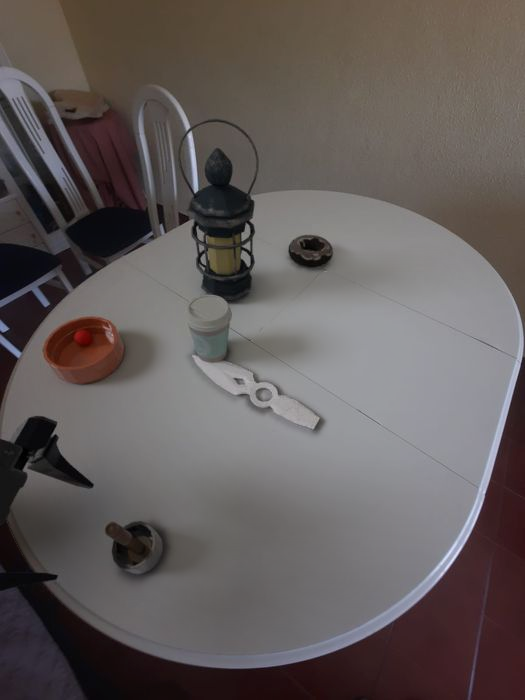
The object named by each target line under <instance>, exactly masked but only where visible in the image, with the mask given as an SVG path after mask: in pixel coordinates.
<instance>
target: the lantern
mask: <svg viewBox="0 0 525 700" xmlns="http://www.w3.org/2000/svg"><path fill="white" fill-rule="evenodd" d="M208 123H223V124H226V125H229V126H231V127H233V128H235V129H236V130H238V131H239V132H240V133H242V134H243V136H245V137H246V138H247V140H248V142H249V143H250V144H251V147H252V149H253V151H254V155H255V172H254V176H253V180H252V181H251V184H250V187H249V189H248V191H247V193H246V192H245V191H243V190H241V189H239V188H238V187H236V186H234V185H232V184H231V181H232V177H233V173H234V169H233V168H234V166H233V163H232V160H231V159H230V158H229V157H228V156H227V155H226V154H225V152H224V151H223V150H222V149H221V148H219V147H215V148H214V149H213V150H212V152H211V153H210V155H209V156H208V158H207V159H206V161H205V165H204V176H205V178H206V180H207V182H208V184H210V185H207V186H204V187H202V188H201V189H199V190H197V191H196V192H195V191H194V190H193V187H192V186H191V184H190V182H189V181H188V178H187V177H186V174H185V171H184V169H183V166H182V161H181V151H182V150H181V149H182V146H183V143H184V140H185V139H186V137H187V136H188V134H189V133H190V132H191V131H192V130H194V129H195V128H198V127H199V126H201V125H204V124H208ZM177 161H178V162H177V163H178V167H179V170H180V173H181V176H182V178H183V179H184V181H185V183H186V185H187V187H188V190H189V191H190V193H191V194H192V197H191V199H190V201H189V204H188V207H187V209H186V215H187V216H189V217H190V218H191V219H193V225H192V226H191V228H190V229H191V230H190V231H191V234H190V235H191V237H192V239H193V240H194V241H195V246H196V247H195V248H196V253H197V254H196V255H197V256H196V258H195V267H196V269H197V270H198V271H199V272H200V274H201V275H202V281H201V282H202V283H201V287H200V288H201V290H203V291H204V292H205V293H206V294H207V295H216V296H219V297H221V298H223V299H224V300H226V301H235V300H238V299H239V298H241V297H243V296H244V295H246V294H248V293H249V292H251V290H252V281H253V277H252V275H251V272H252V271H253V269H254V267H255V264H256V260H255V255H254V250H253V249H254V248H253V247H254V246H253V245H254V243H253V241H254V239H253V238H254V236H255V234H256V229H255V225H254V223H253V222H252V221H251V220H252V219H253V218H254V211H255V207H256V206H255V205H256V204H255V203H256V202H255V200H253V199H252V196H251V195H250V194H251V192H252V190H253V188H254V185H255V183H256V181H257V176H258V173H259V154H258V151H257V148H256V145H255V143H254V141H253V140H252V138H251V137H250V135H248V133H247V132H246V131H245V130H244V129H243V128H241V127H240V126H239V125H238V124H236V123H233V122H231V121H228V120H225V119H220V118H208V119H204V120H200V121H198V122H197V123H195V124H193V125H192V126H190V127H189V128H188V129H187V130H186V131H185V132H184V133H183V135H182V137H181V139H180V141H179V144H178V147H177ZM246 225H248V227H249V235H248V237H246V238H245V239H244V240H243V239H242V233H245V231H246ZM197 228H198V230H200V232H202V233H203V237H202V240H201V239H199V236H198V230H197ZM248 243H249V248H250V249H248V248H246V247H244V246H245V245H247V244H248ZM200 246H202V247H203V250H200ZM243 252H245V253H246V254H247V255H248V256H249V259H250V260H249V263H250V264H249V266H248V265H247V263H246V261H245V260H244V259H243V258H242V253H243ZM203 256H204V259H205V264H204V263H202V260H201V259H202V257H203ZM202 267H203V268H204V269H203V268H202Z"/></svg>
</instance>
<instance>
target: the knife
mask: <svg viewBox="0 0 525 700" xmlns="http://www.w3.org/2000/svg"><path fill="white" fill-rule="evenodd" d="M191 357H192V358H193V360H194V362H195V364H196V366H197V367H199V369H200V370H201V371H202V372H203V373H204V375H206V376H207V377H208V378H209V379H211V381H212V382H214V383H215V384H216V385H218V386H219V387H221V388H222V389H224V390H225V391H227V392H228V393H230V394H232V395H233V396H239V395H249V398H250V401H251V402H252V404H253V405H255V406H256V407H258V408H262V409H263V408H264V409H266V408H271V409H272V410H273V413H275V414H277V415H278V416H280V417H281V416H282V417H283V418H285V420H287V421H290V422H292V423H294V424H296V425H300V426H302V427H306V428H309V429H311V430H314V429H315V427H316V426H317V424H318V423H319V422H320V416H319V415H317V414H315V413H314V412H313V411H312V410H311V409H310V408H308V407H306V405H304V404H303V403H300V401H297V400H296V398H295V399H294V398H291V397H289V396H287V395H285V394H284V395H283V394H279V393H278V390H277V389H278V388H277V387H276V386H275V385H273V384H272V383H270V382H265V381H261V382H257V381H255V378H254V372H252V371H250V370H248V369H246V368H244V367H242V366H239V365H238V364H234V363H233V362H229V361H226V360H224V359H223V360H221V361H219V362H216V363H208V362H205V361H202V360H201V359H200V358H199V357H198V354H197V355H196V354H191ZM236 379H239V380H243V383H244V384H239V383H238V382H237V381H236ZM261 389H267V390H268V391H270V392H271V394H272V395H271V399H269V400H267V401H262V400H260V399H259V398H257V395H256V393H257V391H258V390H261Z"/></svg>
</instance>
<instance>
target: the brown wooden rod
mask: <svg viewBox="0 0 525 700" xmlns="http://www.w3.org/2000/svg"><path fill="white" fill-rule="evenodd" d="M123 527H124V526H122V525H120V524H119V523H118V522H116V521H110V522H109V523H107V525H106V526H105V528H104V533H105V535H106V536H107V537H109V538H111V540H113V541H114V540H115V541H117V542H118V543H120V544H122V545H123V546H125V547H126V548H128V556H129V559H130V560H131V561H133V562H134V563H137V564H138V563H140V562H142V561H143V560H144V559H145V558H146V557H147V556H148V555H149V552H150V550H151V548H152V540H151V539H150V538H148V537H147V536H138V537H134V536H133V535H132V534H131V533H129V532H128V531H127V530H125V529H124V528H123Z"/></svg>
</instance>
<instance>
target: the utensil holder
mask: <svg viewBox="0 0 525 700" xmlns="http://www.w3.org/2000/svg"><path fill="white" fill-rule="evenodd" d="M122 527H123V528H124V529H125V530H127V531H128V532H129V533H131V534H132V535H133V536H134V537H138V536H147V537H148V538H150V539H151V540H152V548H151V550H150V552H149V555H148V556H147V557H146V558H145V559H144V560H143V561H142V562H140V563H138V564H137V563H134V562H133V561H131V560H130V559H129V556H128V548H126V547H125V546H123V545H122V544H120V543H118V542H117V541H115V540H114V539H113V542H112V546H111V556H112V560H113V562H114V563H115V565H116V566H117V567H118V568H120V569H122V570H124V571H125V572H126V571H127V572H129V573H132V574H134V575H142V574H146V573H147V572H150V571H151V570H153V569H154V567H156V565H158V562H159V561H160V559H161V557H162V554H163V547H164V544H163V540H162V537H161V535H160V534H159V533H158V532H157V531H156V530H155V529H154V528H153V526H151V525H150V524H149V523H147V522H145V521H142V520H140V521H139V520H138V521H132V522H130V523H127V524H126V525H125V526H122Z"/></svg>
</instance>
